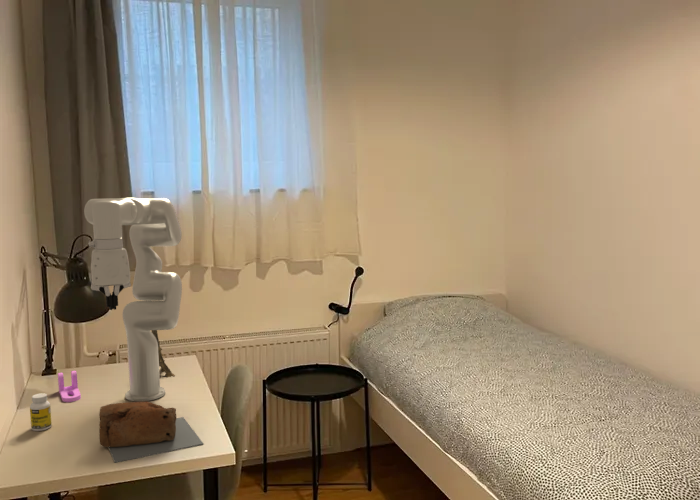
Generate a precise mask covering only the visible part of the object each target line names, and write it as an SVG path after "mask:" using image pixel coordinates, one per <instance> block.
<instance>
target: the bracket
mask: <svg viewBox="0 0 700 500" xmlns="http://www.w3.org/2000/svg"><path fill="white" fill-rule="evenodd" d="M70 373H71V374H70V376H71V385H68V386H65V381H64V380H65V379H64V373H63V372H58V373H57V382H58V384H57V385H58V393H59V396H60V398H61V400H62V402H65V403H71V402H78V401H79V400H81V399H82V396H81V395H82V394H81V391H80V389H79V386H78V385H79V383H78V373H77V370H71V372H70Z"/></svg>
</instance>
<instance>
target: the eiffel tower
mask: <svg viewBox="0 0 700 500" xmlns="http://www.w3.org/2000/svg"><path fill="white" fill-rule="evenodd" d="M150 331H151V332H152V333H153V335H154V336H155V338H156V339H157V342H158V356H159V371H161V372H164V374H165V375H164V376H165V377H166V378H172V377H171V376H173V377H175V376H176V375H175V374H174V373H172V371H171V369H170V368H169V367H168V365H167V364H166V363H165V361H166V360H165V359H164V357H163V355H162V354H163V353H162V350H163V348H162V347H161V346H160V345H161V344H160V341H159V334H158V330H150Z"/></svg>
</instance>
